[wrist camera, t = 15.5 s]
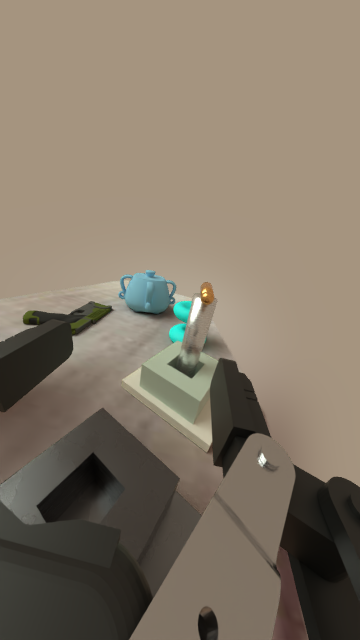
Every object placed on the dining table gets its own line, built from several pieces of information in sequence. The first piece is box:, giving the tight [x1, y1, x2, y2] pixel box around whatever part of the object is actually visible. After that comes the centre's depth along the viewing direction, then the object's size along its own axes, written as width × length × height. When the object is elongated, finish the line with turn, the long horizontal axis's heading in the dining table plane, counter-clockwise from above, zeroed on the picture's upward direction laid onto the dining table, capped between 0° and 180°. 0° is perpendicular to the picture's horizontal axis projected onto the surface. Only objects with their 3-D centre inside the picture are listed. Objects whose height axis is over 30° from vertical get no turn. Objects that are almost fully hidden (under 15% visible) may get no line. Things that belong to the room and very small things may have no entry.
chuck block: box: [0, 408, 201, 598], centre depth 13 cm, size 16×12×6 cm
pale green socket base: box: [122, 341, 218, 452], centre depth 29 cm, size 16×12×6 cm
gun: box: [23, 301, 112, 335], centre depth 47 cm, size 2×19×15 cm
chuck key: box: [176, 282, 217, 379], centre depth 25 cm, size 7×3×18 cm, turn 173°
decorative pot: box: [118, 270, 176, 314], centre depth 59 cm, size 16×16×14 cm
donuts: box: [169, 301, 206, 344], centre depth 44 cm, size 10×10×10 cm
